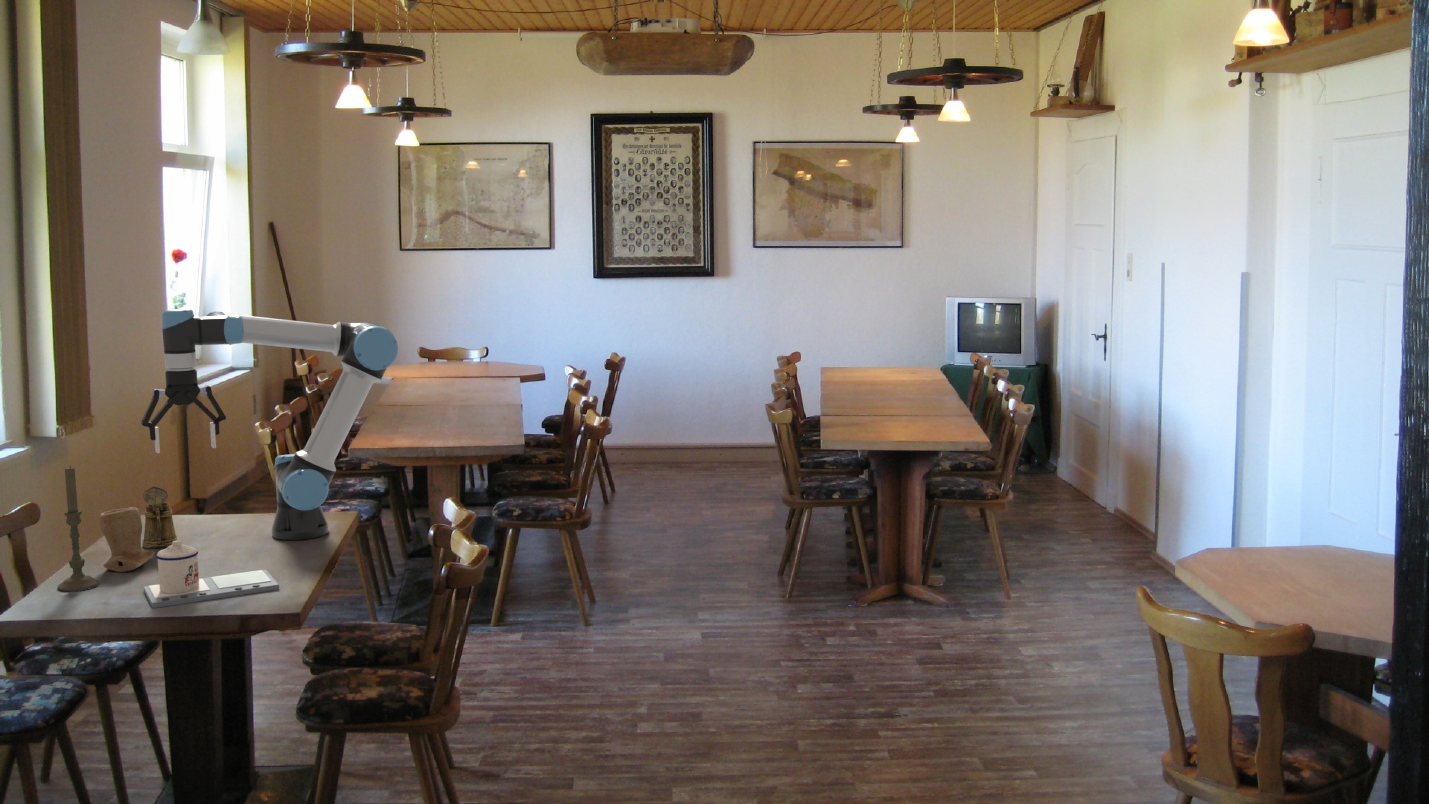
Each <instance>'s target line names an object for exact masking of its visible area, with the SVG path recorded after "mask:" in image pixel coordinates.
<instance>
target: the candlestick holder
mask: <svg viewBox="0 0 1429 804" xmlns="http://www.w3.org/2000/svg"><path fill="white" fill-rule="evenodd" d="M64 478H65V490H66V504H67V505H66V506H67V510H66V511H65V512H63V515H64V516H65V517H66V519H65V523H66V525H68V526H70V530H69V531H70V533H69V538H70V539H71V549H72V553H73V554H72V557H71V558H70V559H69V560H68V564H69V567H70V569H72V574H71V575H70V577H67V578H65V579H64V580H63V581H62V582H61V583H59V584H58V585H57V590H58V589H59V591H60V590H62V591H61V592H65V591H74V592H82V591H81V590H83V591H86V590H85V589H88V590H90V589H89V588H92V589H93V588H94V589H95V588H97V587H98V586H99V585H100V580H99V579H95V578H94V577H93V576H91V575H86V574H85V573H84V572H83V567H85V562H86V560H85V558H83V557H82V556H81V553H80V543H79V542H80V531H79V528H78V527H79V525H80V524H81V522H82V518H81V515H82V513H83V511H82V510H80V509H79V505H78V504H79V503H78V493H77V481H76V480H77V479H76V467H74V466H73V467H72V464H70V465H69V466H68V467H66V468H64ZM97 585H98V586H97ZM79 590H80V591H79Z"/></svg>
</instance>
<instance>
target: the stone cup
mask: <svg viewBox="0 0 1429 804" xmlns="http://www.w3.org/2000/svg"><path fill="white" fill-rule="evenodd" d="M141 516H142V515H141V512H140V510H139V508H138V507H135V506H130V507H125V508H118V509H113V510H108V511H104V512H102V513H100V515H99V524H100V529H101V532H102V534H103V536H104V538H105V539H106V542H107V544H108V547H109V549H110V551H111V556H110V557H109V559H108V560H107V561H106V562H104V564H103V567H104V568H105V569H107V570H110V571H114V572H117V573H125V572H128V571H132V570H135V569H137V568H139V567H142V565H144V564H145V563H147V562H149V561H150V560H151V559H152V558H153V557H154V556H155V551H153V550H146V549H144V550H143V547H142V545H141V543H142V541H141V540H142V532H143V523H142V518H141Z"/></svg>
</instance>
